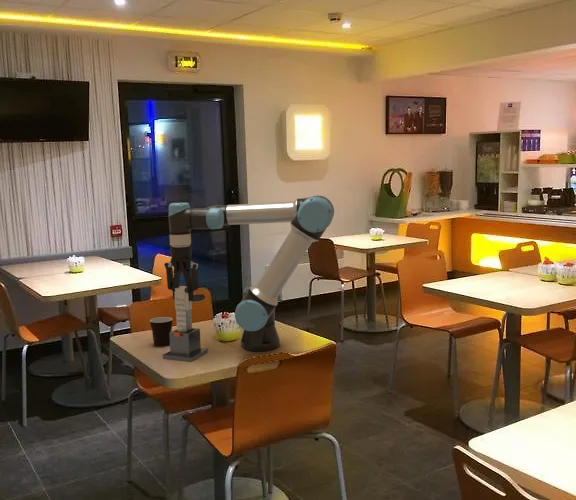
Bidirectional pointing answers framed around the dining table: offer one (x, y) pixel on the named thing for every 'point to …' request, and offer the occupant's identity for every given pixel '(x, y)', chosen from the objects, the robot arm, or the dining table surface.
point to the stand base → (185, 346)
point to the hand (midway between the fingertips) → (183, 308)
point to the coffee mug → (161, 331)
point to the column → (182, 311)
